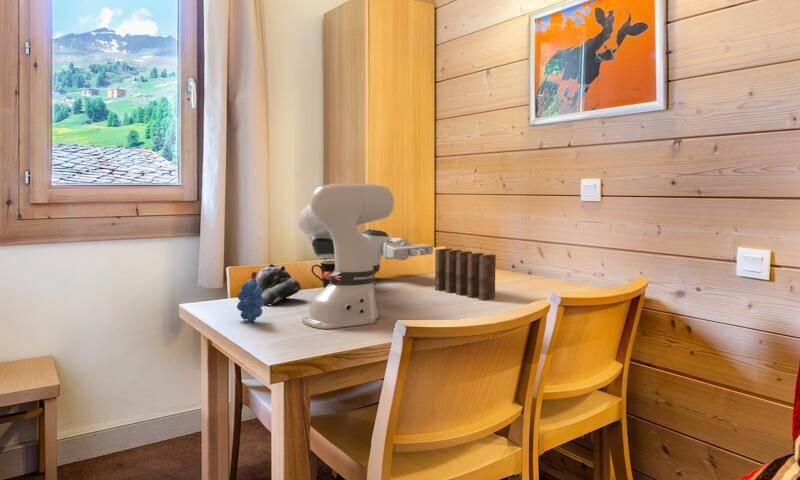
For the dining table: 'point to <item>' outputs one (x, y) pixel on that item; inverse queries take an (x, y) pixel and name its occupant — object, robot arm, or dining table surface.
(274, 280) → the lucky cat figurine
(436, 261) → the domino
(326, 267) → the coffee mug
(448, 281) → the domino
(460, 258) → the domino
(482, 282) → the domino
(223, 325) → the dining table surface
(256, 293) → the grapes
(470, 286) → the domino
